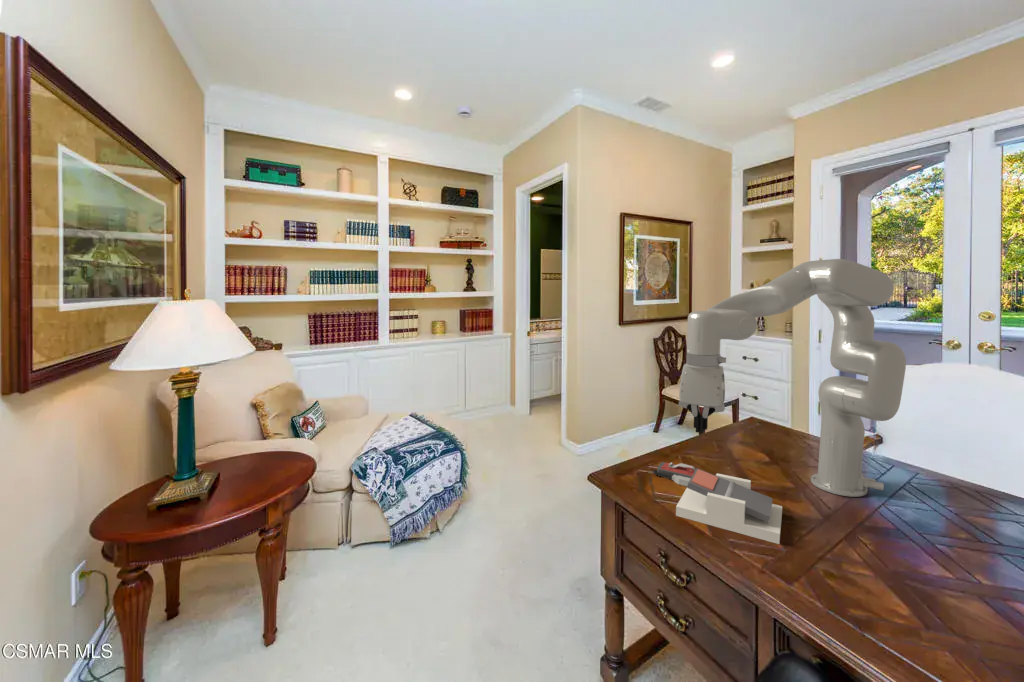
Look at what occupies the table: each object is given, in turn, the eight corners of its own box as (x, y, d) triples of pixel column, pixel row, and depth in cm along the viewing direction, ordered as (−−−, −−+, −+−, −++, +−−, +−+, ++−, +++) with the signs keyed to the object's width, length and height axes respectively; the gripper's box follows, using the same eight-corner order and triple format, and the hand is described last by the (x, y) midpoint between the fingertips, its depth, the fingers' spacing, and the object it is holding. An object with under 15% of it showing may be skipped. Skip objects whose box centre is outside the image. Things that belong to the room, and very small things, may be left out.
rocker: (770, 504, 102) (773, 497, 102) (767, 523, 94) (770, 515, 94) (695, 473, 112) (697, 467, 111) (686, 488, 104) (688, 481, 103)
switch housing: (781, 515, 103) (783, 487, 102) (779, 544, 91) (781, 512, 90) (688, 492, 115) (689, 467, 114) (675, 515, 104) (676, 487, 103)
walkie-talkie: (650, 479, 125) (723, 497, 113) (650, 465, 125) (723, 481, 113) (659, 468, 132) (728, 484, 120) (659, 455, 132) (729, 470, 120)
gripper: (738, 360, 102) (735, 432, 104) (675, 356, 110) (673, 422, 112) (734, 365, 95) (731, 441, 98) (667, 360, 104) (666, 430, 106)
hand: (700, 431), depth 105 cm, fingers closed
